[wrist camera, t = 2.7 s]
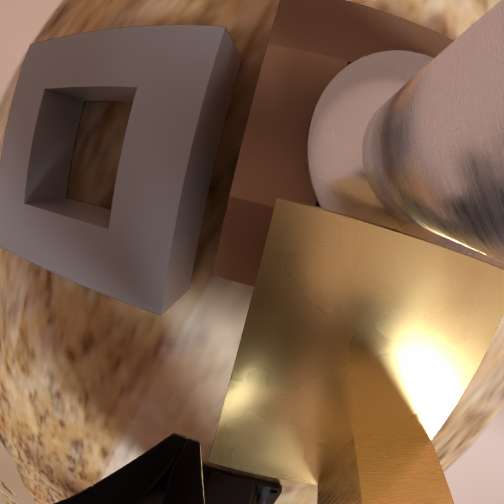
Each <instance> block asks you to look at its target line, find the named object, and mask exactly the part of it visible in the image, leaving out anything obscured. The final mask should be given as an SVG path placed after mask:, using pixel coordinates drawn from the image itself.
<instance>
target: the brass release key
mask: <svg viewBox="0 0 504 504" xmlns="http://www.w3.org/2000/svg"><path fill="white" fill-rule="evenodd" d="M503 314H504V268H502V267H500V266H497V265H495V264H492V263H489V262H487V261H484V260H482V259H479V258H476V257H474V256H471V255H468V254H465V253H463V252H460V251H457V250H454V249H452V248H449V247H446V246H443V245H440V244H437V243H434V242H432V241H429V240H426V239H423V238H420V237H417V236H414V235H411V234H408V233H405V232H401V231H398V230H395V229H392V228H389V227H386V226H383V225H379V224H376V223H373V222H370V221H366V220H363V219H360V218H356V217H353V216H349V215H346V214H342V213H339V212H336V211H332V210H328V209H325V208H321V207H318V206H314V205H310V204H307V203H303V202H299V201H295V200H291V199H288V198H284V197H280V196H279V197H278V198H277V199H276V203H275V207H274V211H273V215H272V219H271V223H270V227H269V231H268V235H267V239H266V243H265V247H264V251H263V255H262V259H261V263H260V267H259V271H258V275H257V279H256V283H255V287H254V290H253V294H252V298H251V302H250V306H249V310H248V314H247V318H246V321H245V325H244V329H243V333H242V337H241V341H240V345H239V348H238V352H237V356H236V360H235V364H234V367H233V371H232V375H231V379H230V383H229V386H228V390H227V394H226V398H225V401H224V405H223V409H222V413H221V416H220V420H219V424H218V427H217V431H216V435H215V438H214V442H213V446H212V449H211V453H210V457H209V460H208V462H211V463H215V464H218V465H222V466H225V467H229V468H233V469H237V470H241V471H245V472H249V473H253V474H258V475H262V476H267V477H272V478H278V479H283V480H289V481H295V482H302V483H309V484H317V485H318V501H317V504H454V502H453V499H452V496H451V493H450V490H449V487H448V484H447V481H446V479H445V476H444V473H443V470H442V468H441V465H440V462H439V460H438V457H437V454H436V452H435V449H434V447H433V444H432V442H431V439H432V438H433V436H434V435H435V434H436V432H437V431H438V430H439V428H440V427H441V425H442V424H443V423H444V421H445V420H446V418H447V417H448V415H449V414H450V412H451V411H452V409H453V408H454V406H455V405H456V403H457V402H458V400H459V399H460V397H461V395H462V394H463V392H464V391H465V389H466V387H467V386H468V384H469V382H470V380H471V379H472V377H473V375H474V373H475V372H476V370H477V368H478V366H479V364H480V362H481V361H482V359H483V357H484V355H485V353H486V351H487V349H488V347H489V345H490V343H491V341H492V339H493V336H494V334H495V332H496V330H497V328H498V325H499V323H500V321H501V319H502V316H503Z"/></svg>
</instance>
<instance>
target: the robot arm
mask: <svg viewBox="0 0 504 504" xmlns="http://www.w3.org/2000/svg"><path fill="white" fill-rule="evenodd" d="M281 492H282V486H281V485H280V484H277V483H272V482H266V481H262V480H257V479H252V478H248V477H244V476H240V475H236V474H232V473H228V472H224V471H221V470H217V469H214V468H210V467H207V466H204V465H202V460H201V444H200V441H198V440H195V439H191V438H186V437H185V436H183V435H180V434H177V433H173V434H171V435H170V436H169V437H167V438H166V439H164V440H163V441H161V442H160V443H159V444H157V445H156V446H154V447H153V448H151V449H150V450H148V451H147V452H145V453H144V454H142V455H141V456H139V457H138V458H136V459H135V460H133V461H132V462H130V463H128V464H127V465H125V466H124V467H122V468H120V469H119V470H117V471H116V472H114V473H112V474H111V475H109V476H107V477H106V478H104V479H102V480H101V481H99V482H97V483H96V484H94V485H93V486H90V487H88V488H87V489H85V490H83V491H81V492H79V493H77V494H75V495H73V496H71V497H69V498H67V499H64V500H62V501H59V502H57V503H54V504H274V502H275V501H276V500H277V498H278V497H279V495H280V494H281Z"/></svg>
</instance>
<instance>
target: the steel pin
mask: <svg viewBox="0 0 504 504" xmlns="http://www.w3.org/2000/svg"><path fill="white" fill-rule="evenodd" d="M307 164H308V173H309V177H310V182H311V186H312V189H313V192H314V194H315V197H316V200H317V202H318V204H319V206H320V207H321V208H325V209H328V210H332V211H336V212H339V213H342V214H346V215H349V216H353V217H356V218H360V219H363V220H366V221H370V222H373V223H376V224H379V225H383V226H386V227H389V228H392V229H395V230H398V231H401V232H405V233H408V234H411V235H414V236H417V237H420V238H423V239H426V240H429V241H432V242H434V243H437V244H440V245H443V246H446V247H449V248H452V249H454V250H457V251H460V252H463V253H465V254H468V255H471V256H472V255H474V254H475V253H476V252H477V251H478V252H480V253H482V254H484V255H487V256H489V257H491V258H493V259H495V260H497V261H499V262H501V263H503V264H504V0H501V1H500V2H499V3H498V4H496V5H495V6H494V7H493V8H492V9H490V10H489V11H488V12H487V13H486V14H485V15H483V16H482V17H481V18H480V19H479V20H478V21H476V22H475V23H474V24H473V25H472V26H471V27H469V28H468V29H467V30H466V31H465V32H464V33H463V34H461V35H460V36H459V37H458V38H457V39H456V40H454V41H453V42H452V43H451V44H450V45H449V46H448V47H447V48H445V49H444V50H443V51H442V52H441V53H440V54H439V55H437V56H436V57H435V58H432V57H430V56H427V55H424V54H420V53H416V52H411V51H401V50H394V51H383V52H378V53H373V54H370V55H367V56H365V57H362V58H360V59H358V60H356V61H354V62H353V63H351V64H349V65H348V66H347V67H345V68H344V69H343V70H342V71H340V72H339V73H338V74H337V75H336V76H335V77H334V78H333V79H332V81H331V82H330V83H329V84H328V86H327V87H326V89H325V90H324V92H323V93H322V95H321V97H320V99H319V101H318V103H317V105H316V107H315V111H314V114H313V117H312V120H311V124H310V129H309V135H308V141H307Z"/></svg>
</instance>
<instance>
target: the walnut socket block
mask: <svg viewBox="0 0 504 504" xmlns="http://www.w3.org/2000/svg"><path fill="white" fill-rule="evenodd" d="M452 42H453V41H452V40H450V39H448V38H446V37H444V36H442V35H440V34H438V33H436V32H434V31H431V30H429V29H427V28H425V27H422V26H420V25H417V24H415V23H412V22H410V21H407V20H405V19H402V18H400V17H397V16H394V15H391V14H388V13H385V12H382V11H379V10H376V9H373V8H370V7H367V6H363V5H360V4H356V3H353V2H349V1H345V0H280V3H279V7H278V10H277V13H276V17H275V20H274V24H273V27H272V31H271V34H270V38H269V41H268V45H267V48H266V52H265V56H264V59H263V63H262V67H261V70H260V74H259V78H258V82H257V85H256V89H255V93H254V97H253V101H252V105H251V109H250V113H249V116H248V120H247V124H246V128H245V132H244V136H243V141H242V145H241V149H240V153H239V157H238V161H237V165H236V170H235V174H234V178H233V182H232V187H231V191H230V195H229V200H228V204H227V209H226V213H225V218H224V222H223V227H222V231H221V236H220V240H219V245H218V250H217V254H216V259H215V264H214V269H213V274H212V275H215V276H219V277H222V278H226V279H229V280H233V281H236V282H240V283H243V284H247V285H251V286H254V287H255V283H256V279H257V275H258V271H259V267H260V263H261V259H262V255H263V251H264V247H265V243H266V239H267V235H268V231H269V227H270V223H271V219H272V215H273V211H274V207H275V203H276V199H277V198H278V197H279V196H280V197H284V198H288V199H291V200H295V201H299V202H303V203H307V204H310V205H314V206H315V205H316V201H317V200H316V197H315V194H314V192H313V189H312V186H311V182H310V177H309V173H308V164H307V141H308V135H309V129H310V124H311V120H312V117H313V114H314V111H315V107H316V105H317V103H318V101H319V99H320V97H321V95H322V93H323V92H324V90H325V89H326V87H327V86H328V84H329V83H330V82H331V81H332V79H333V78H334V77H335V76H336V75H337V74H338V73H339V72H340V71H342V70H343V69H344V68H345V67H347V66H348V65H349V64H351V63H353V62H354V61H356V60H358V59H360V58H362V57H365V56H367V55H370V54H373V53H378V52H383V51H394V50H401V51H411V52H416V53H420V54H424V55H427V56H430V57H432V58H435V57H436V56H437V55H439V54H440V53H441V52H442V51H443V50H444V49H445V48H447V47H448V46H449V45H450V44H451V43H452ZM472 256H474V257H476V258H479V259H482V260H484V261H487V262H489V263H492V264H495V265H497V266H500V267H502V268H504V264H503V263H501V262H499V261H497V260H495V259H493V258H491V257H489V256H487V255H484V254H482V253H480V252H478V251H477V252H476V253H475V254H474V255H472Z"/></svg>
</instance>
